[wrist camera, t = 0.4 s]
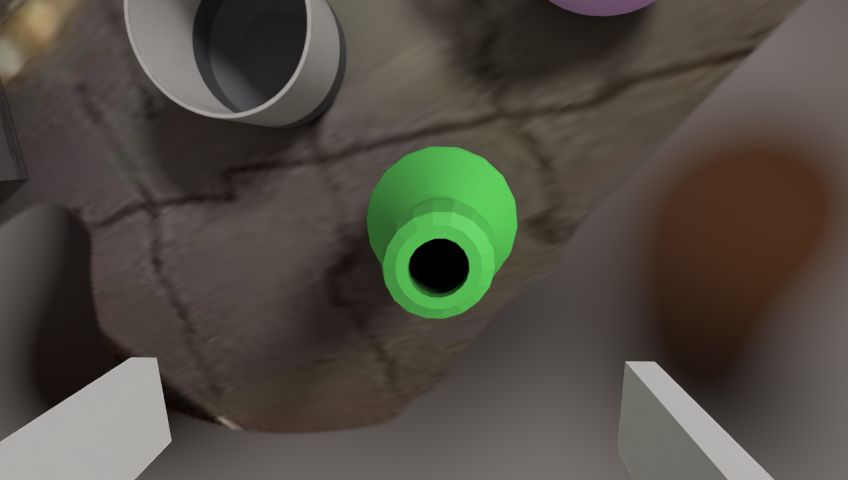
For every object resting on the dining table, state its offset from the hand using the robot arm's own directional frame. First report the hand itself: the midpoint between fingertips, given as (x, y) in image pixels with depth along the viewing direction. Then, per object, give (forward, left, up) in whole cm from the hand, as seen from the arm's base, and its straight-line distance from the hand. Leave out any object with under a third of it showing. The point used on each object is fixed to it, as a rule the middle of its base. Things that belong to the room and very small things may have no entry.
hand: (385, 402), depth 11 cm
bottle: (-3, +2, -29) cm, 29 cm away
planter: (-17, -12, -29) cm, 35 cm away
